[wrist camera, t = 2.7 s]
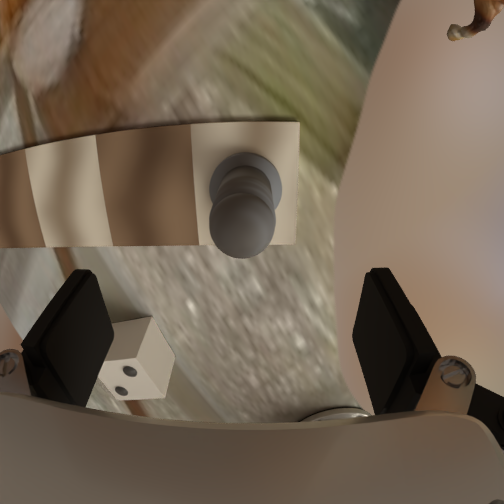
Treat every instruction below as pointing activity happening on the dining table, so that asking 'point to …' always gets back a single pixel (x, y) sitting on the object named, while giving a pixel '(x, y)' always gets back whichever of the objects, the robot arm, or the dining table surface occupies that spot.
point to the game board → (137, 185)
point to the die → (137, 361)
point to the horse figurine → (477, 19)
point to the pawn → (244, 204)
